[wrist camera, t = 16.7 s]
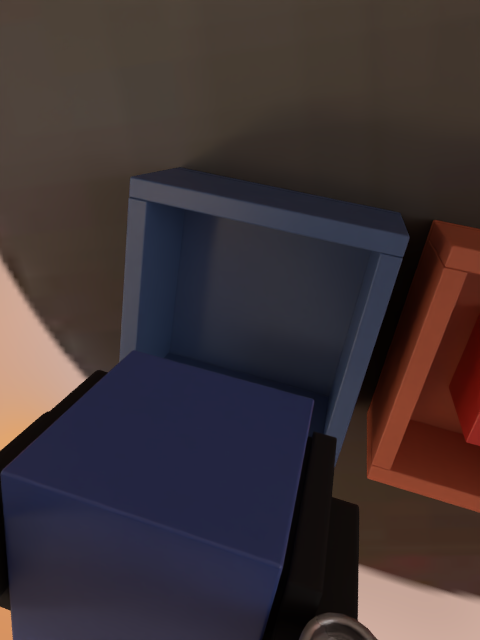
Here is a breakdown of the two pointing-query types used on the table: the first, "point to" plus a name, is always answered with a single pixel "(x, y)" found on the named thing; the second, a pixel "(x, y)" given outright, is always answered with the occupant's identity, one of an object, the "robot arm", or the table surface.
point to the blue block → (155, 508)
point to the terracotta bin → (429, 377)
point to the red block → (468, 388)
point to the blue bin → (259, 284)
